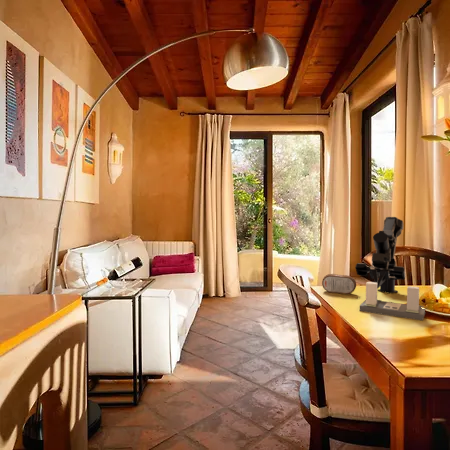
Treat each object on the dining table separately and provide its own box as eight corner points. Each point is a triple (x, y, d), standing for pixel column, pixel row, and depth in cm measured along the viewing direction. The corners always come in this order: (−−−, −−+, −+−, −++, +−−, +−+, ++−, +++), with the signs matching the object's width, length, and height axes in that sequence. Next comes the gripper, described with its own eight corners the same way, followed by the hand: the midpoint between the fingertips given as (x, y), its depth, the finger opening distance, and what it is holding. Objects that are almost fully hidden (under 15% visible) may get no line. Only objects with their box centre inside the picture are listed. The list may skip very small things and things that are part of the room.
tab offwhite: (367, 302, 135) (367, 281, 135) (377, 303, 133) (377, 282, 133) (365, 303, 133) (366, 283, 132) (375, 305, 131) (375, 284, 130)
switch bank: (366, 303, 142) (366, 298, 142) (425, 312, 130) (425, 306, 130) (359, 310, 132) (359, 304, 132) (422, 320, 120) (423, 313, 120)
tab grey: (407, 307, 127) (408, 286, 127) (418, 309, 125) (419, 287, 125) (406, 309, 125) (407, 287, 125) (417, 311, 123) (418, 288, 123)
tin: (356, 293, 159) (356, 275, 159) (355, 295, 156) (355, 276, 156) (322, 290, 166) (322, 273, 165) (321, 292, 163) (321, 274, 162)
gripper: (356, 244, 150) (349, 274, 141) (405, 247, 140) (400, 279, 131) (360, 260, 157) (354, 289, 148) (406, 263, 146) (403, 295, 138)
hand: (376, 287), depth 141 cm, fingers closed
